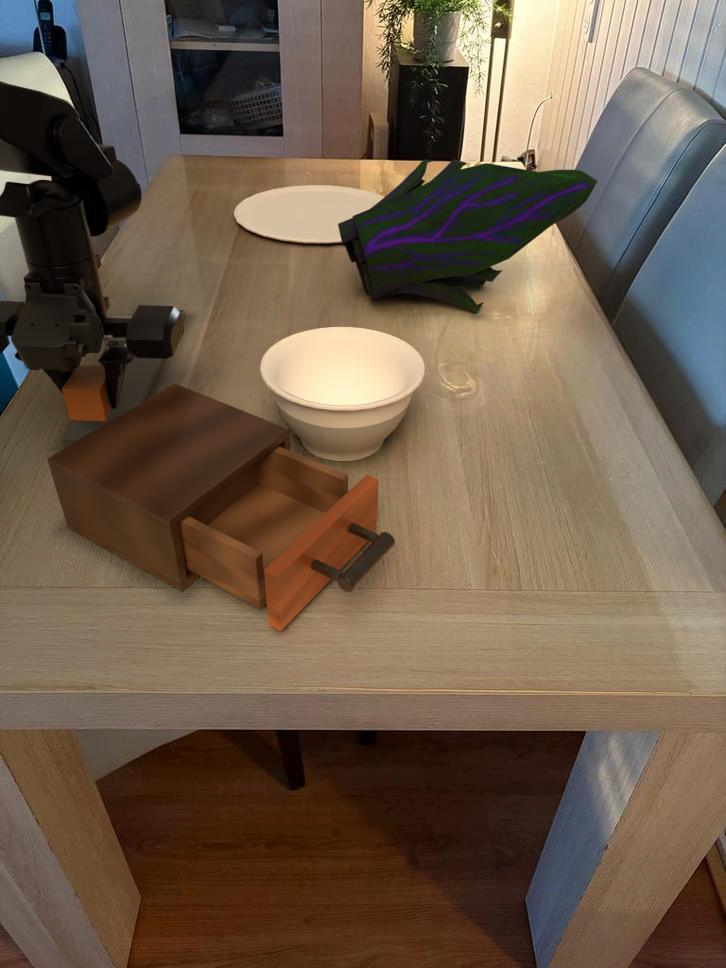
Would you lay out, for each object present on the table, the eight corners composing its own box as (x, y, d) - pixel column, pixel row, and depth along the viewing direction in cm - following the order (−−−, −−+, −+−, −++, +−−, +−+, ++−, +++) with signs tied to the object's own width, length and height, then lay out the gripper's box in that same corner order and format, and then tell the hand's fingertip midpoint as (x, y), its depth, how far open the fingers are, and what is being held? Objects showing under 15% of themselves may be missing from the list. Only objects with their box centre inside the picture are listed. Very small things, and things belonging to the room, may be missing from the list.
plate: (417, 244, 120) (418, 237, 119) (235, 251, 116) (235, 243, 115) (386, 189, 143) (386, 182, 142) (232, 193, 139) (232, 186, 138)
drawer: (415, 549, 62) (420, 496, 59) (323, 655, 54) (322, 600, 50) (263, 481, 69) (259, 429, 66) (158, 565, 60) (147, 510, 57)
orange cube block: (106, 421, 73) (99, 390, 70) (69, 420, 73) (61, 389, 70) (119, 396, 76) (113, 366, 74) (84, 395, 76) (77, 365, 74)
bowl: (451, 442, 77) (459, 369, 71) (332, 505, 68) (332, 428, 63) (350, 381, 86) (351, 312, 81) (234, 430, 77) (227, 357, 72)
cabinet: (293, 497, 69) (290, 429, 64) (182, 592, 59) (168, 520, 55) (184, 448, 75) (174, 382, 70) (67, 528, 65) (46, 458, 60)
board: (123, 449, 74) (121, 441, 74) (63, 447, 74) (61, 439, 74) (185, 316, 98) (184, 309, 97) (140, 315, 98) (138, 308, 97)
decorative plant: (366, 337, 114) (554, 278, 114) (380, 352, 89) (620, 277, 89) (326, 199, 109) (522, 137, 108) (328, 175, 84) (584, 94, 83)
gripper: (-93, 289, 59) (-32, 450, 68) (143, 296, 59) (170, 456, 68) (-31, 239, 67) (14, 387, 77) (174, 245, 67) (194, 393, 77)
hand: (95, 406), depth 75 cm, fingers closed on orange cube block, 3 cm apart
